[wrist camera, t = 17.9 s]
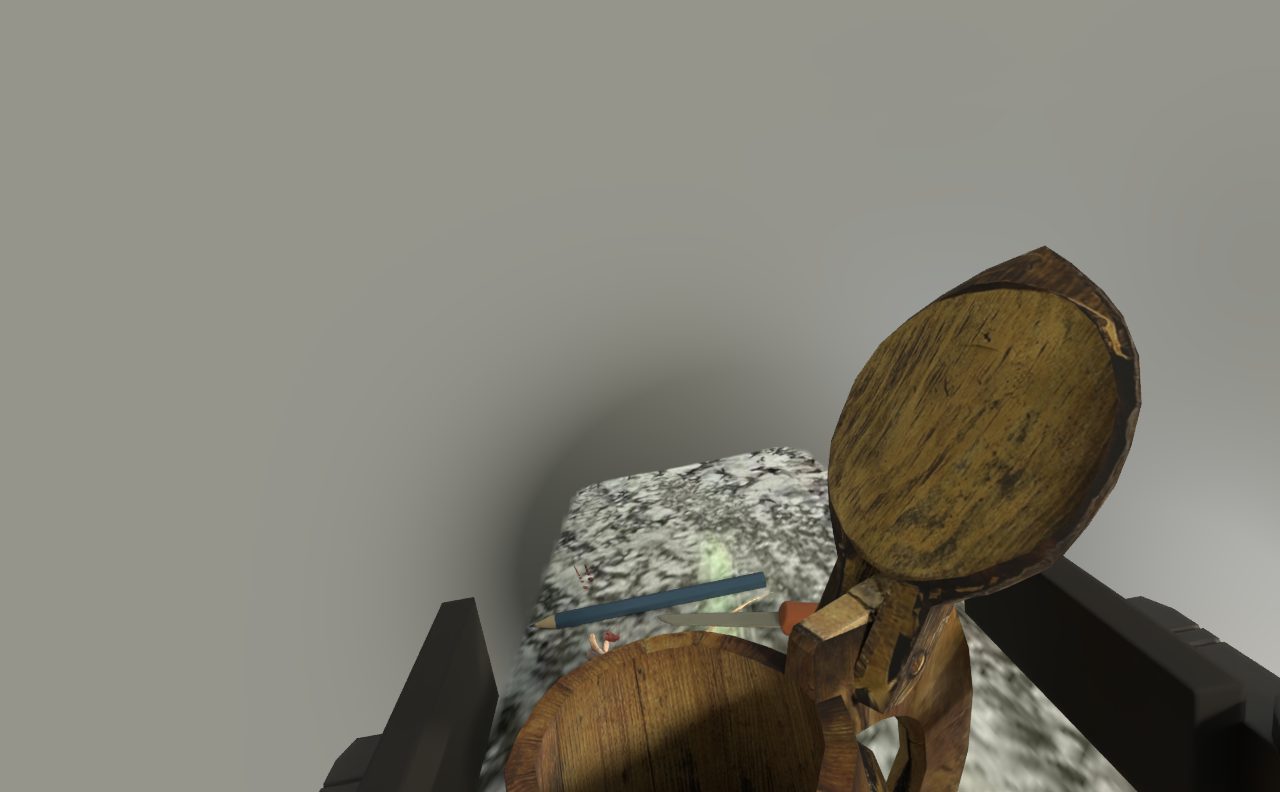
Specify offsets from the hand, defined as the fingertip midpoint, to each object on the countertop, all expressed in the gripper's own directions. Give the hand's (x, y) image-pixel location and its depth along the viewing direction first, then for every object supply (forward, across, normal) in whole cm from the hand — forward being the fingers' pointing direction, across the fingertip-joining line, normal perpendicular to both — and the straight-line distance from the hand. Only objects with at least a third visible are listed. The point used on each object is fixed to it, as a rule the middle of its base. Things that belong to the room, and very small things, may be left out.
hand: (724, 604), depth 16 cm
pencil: (+24, +5, -13) cm, 28 cm away
